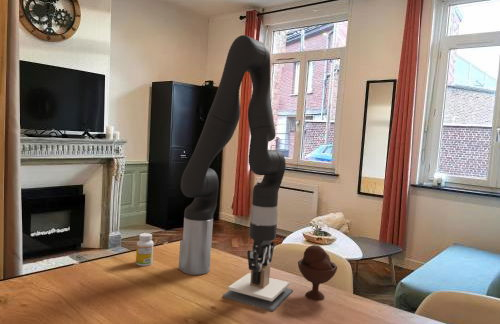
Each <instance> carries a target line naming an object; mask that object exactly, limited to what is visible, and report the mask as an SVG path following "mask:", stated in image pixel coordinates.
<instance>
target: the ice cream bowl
mask: <svg viewBox="0 0 500 324" xmlns="http://www.w3.org/2000/svg"><path fill="white" fill-rule="evenodd" d="M297 265H298V269H299V272H300V273H301V275H302V276H303V277H304V279H305V280H307V282H310V283H311V284H312V289H310V290H308V291H307V292H306V293H305V295H304V296H305V297H306V299H308V300H311V301H316V302H320V301H323V300H324V299H326V298H325V295H324V294H323V293H322V292H321V291H320V290H319V287H320V284H321V285H323V284H325V283H327V282H329V281H330V280H331V279H332V278H333V277H334V276H335V274H336V273H337V270H338V266H337V265H336V264H335V263H334V262H333V261H331V257H330V255H329V253H327V252H326V251H325V249H324V248H323V247H321V246H320V245H318V244H317V245H316V244H313V245H309V246H308V247H307V248H305V250H304V253H303V257H302V258H301V259H300V260H298V261H297Z"/></svg>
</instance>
